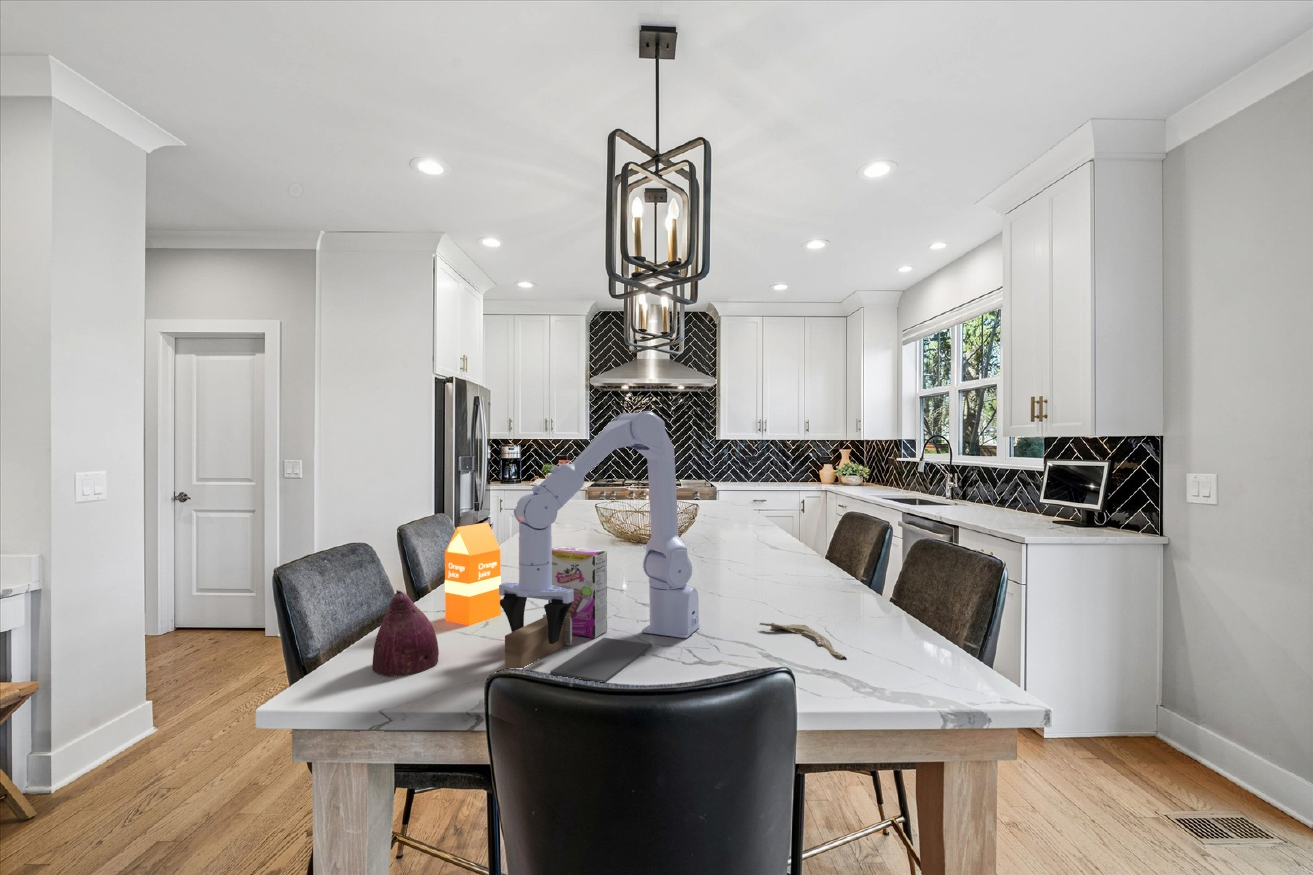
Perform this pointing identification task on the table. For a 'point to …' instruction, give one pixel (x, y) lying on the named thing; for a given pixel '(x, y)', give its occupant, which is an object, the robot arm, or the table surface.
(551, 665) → the table surface
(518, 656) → the tall tan post
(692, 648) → the table surface
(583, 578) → the candy bar box
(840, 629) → the table surface
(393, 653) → the vegetable
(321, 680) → the table surface
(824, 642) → the jawbone
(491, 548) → the orange juice
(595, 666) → the mat
